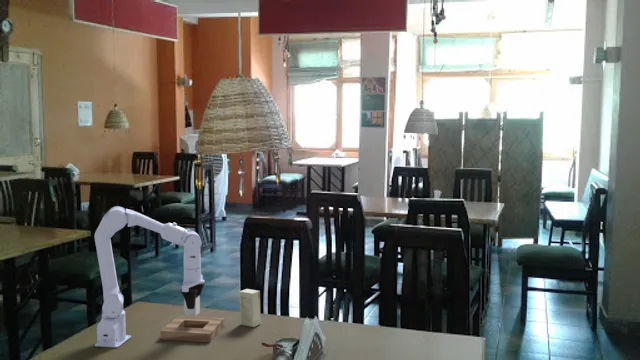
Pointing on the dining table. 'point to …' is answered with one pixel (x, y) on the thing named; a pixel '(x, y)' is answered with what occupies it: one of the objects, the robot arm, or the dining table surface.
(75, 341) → the dining table surface
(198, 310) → the grey rectangular block
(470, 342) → the dining table surface
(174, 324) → the well block
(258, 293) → the skincare box
